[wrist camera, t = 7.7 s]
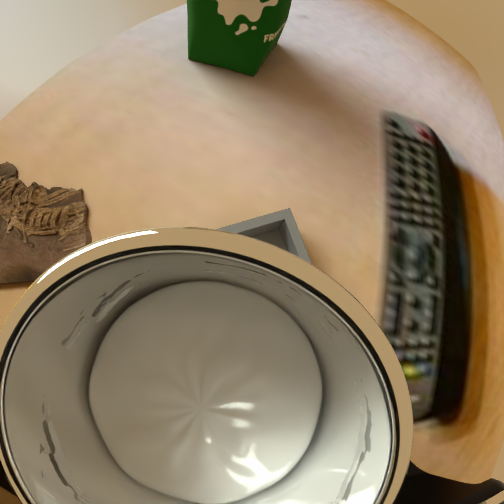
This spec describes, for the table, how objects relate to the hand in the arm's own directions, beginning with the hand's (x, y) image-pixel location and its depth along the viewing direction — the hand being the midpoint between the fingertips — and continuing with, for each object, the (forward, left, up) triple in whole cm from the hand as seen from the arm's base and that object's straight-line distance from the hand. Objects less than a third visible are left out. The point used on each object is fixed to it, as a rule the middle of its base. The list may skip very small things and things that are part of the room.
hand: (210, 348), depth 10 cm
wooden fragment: (+15, +18, -10) cm, 25 cm away
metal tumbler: (-1, +1, -8) cm, 8 cm away
